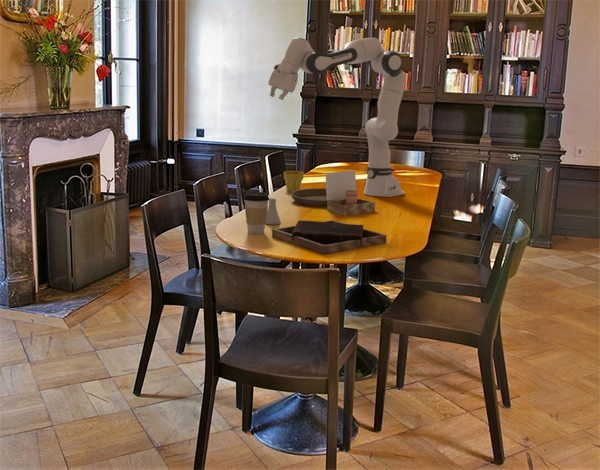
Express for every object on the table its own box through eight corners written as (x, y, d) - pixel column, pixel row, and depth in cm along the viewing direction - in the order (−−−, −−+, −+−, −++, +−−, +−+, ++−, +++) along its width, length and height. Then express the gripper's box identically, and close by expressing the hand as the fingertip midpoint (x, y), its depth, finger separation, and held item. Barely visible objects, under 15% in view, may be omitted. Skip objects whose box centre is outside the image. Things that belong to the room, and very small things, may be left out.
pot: (351, 209, 303) (352, 189, 301) (360, 211, 299) (361, 191, 297) (341, 210, 300) (342, 190, 298) (350, 212, 296) (351, 192, 293)
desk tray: (332, 227, 268) (332, 220, 267) (386, 243, 245) (386, 235, 245) (272, 236, 250) (272, 229, 249) (324, 254, 227) (324, 246, 226)
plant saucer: (309, 211, 300) (309, 201, 299) (279, 199, 326) (279, 189, 325) (367, 206, 314) (368, 197, 313) (334, 195, 341) (334, 186, 339)
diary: (361, 248, 237) (362, 235, 236) (291, 245, 240) (292, 231, 239) (363, 235, 255) (363, 222, 254) (298, 232, 258) (298, 219, 257)
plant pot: (300, 193, 343) (301, 174, 340) (281, 191, 345) (281, 173, 342) (304, 189, 352) (305, 171, 350) (285, 188, 354) (286, 170, 352)
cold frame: (352, 206, 312) (353, 182, 309) (374, 212, 301) (376, 186, 298) (323, 210, 301) (324, 185, 298) (345, 216, 290) (346, 190, 287)
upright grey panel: (356, 196, 308) (355, 196, 309) (355, 170, 307) (354, 170, 307) (327, 200, 297) (326, 200, 298) (326, 173, 296) (325, 173, 296)
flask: (262, 221, 276) (263, 197, 273) (280, 221, 276) (280, 197, 274) (263, 225, 269) (263, 200, 266) (281, 225, 269) (281, 200, 267)
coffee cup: (253, 228, 262) (254, 190, 259) (273, 232, 257) (274, 193, 254) (237, 232, 255) (238, 193, 251) (258, 236, 249) (258, 197, 246)
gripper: (304, 76, 307) (291, 103, 308) (283, 71, 323) (271, 97, 325) (293, 70, 303) (281, 98, 304) (272, 65, 320) (261, 92, 321)
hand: (276, 97), depth 315 cm, fingers open, 8 cm apart
